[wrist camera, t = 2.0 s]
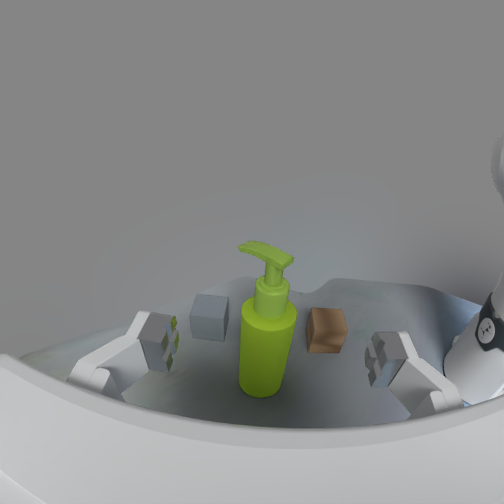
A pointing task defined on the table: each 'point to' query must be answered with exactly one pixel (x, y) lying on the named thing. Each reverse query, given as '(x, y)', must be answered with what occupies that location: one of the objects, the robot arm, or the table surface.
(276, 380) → the soap dispenser
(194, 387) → the table surface
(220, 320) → the slate-grey block
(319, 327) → the walnut block
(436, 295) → the table surface
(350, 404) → the table surface
